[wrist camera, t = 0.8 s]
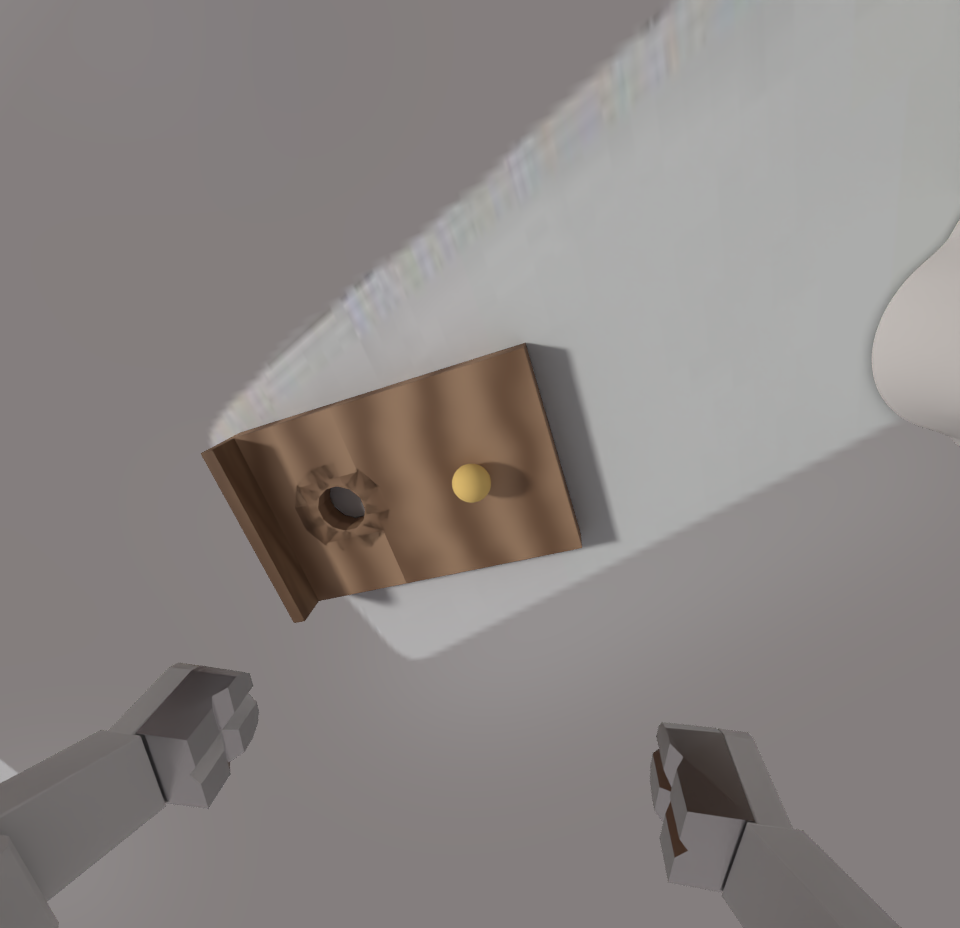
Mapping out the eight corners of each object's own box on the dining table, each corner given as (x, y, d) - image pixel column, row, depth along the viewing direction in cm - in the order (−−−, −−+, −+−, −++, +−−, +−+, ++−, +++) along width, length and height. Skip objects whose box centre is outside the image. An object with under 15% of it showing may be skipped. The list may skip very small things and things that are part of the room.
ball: (486, 453, 40) (481, 468, 37) (498, 487, 41) (493, 504, 38) (450, 463, 41) (442, 478, 38) (463, 496, 42) (456, 513, 39)
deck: (525, 342, 39) (521, 354, 33) (580, 533, 44) (584, 567, 39) (239, 432, 45) (200, 453, 40) (319, 587, 51) (294, 623, 46)
